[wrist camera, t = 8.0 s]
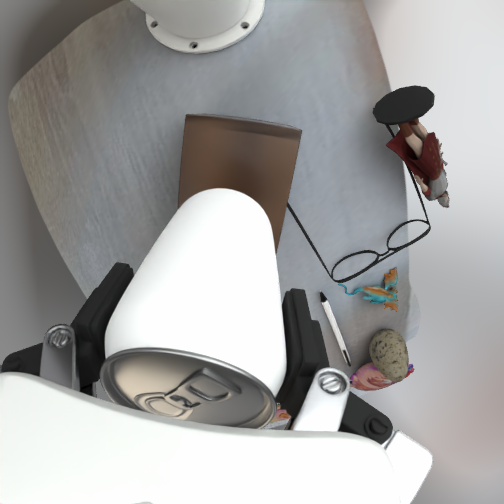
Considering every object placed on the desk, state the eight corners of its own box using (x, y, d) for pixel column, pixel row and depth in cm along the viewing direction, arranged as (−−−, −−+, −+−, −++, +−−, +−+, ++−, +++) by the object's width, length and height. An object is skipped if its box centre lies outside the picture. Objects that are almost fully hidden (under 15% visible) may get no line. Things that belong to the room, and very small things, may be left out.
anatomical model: (334, 370, 48) (390, 383, 48) (334, 396, 43) (393, 406, 44) (367, 341, 41) (424, 357, 42) (370, 369, 37) (429, 382, 38)
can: (154, 232, 18) (64, 380, 7) (222, 164, 15) (154, 292, 5) (222, 291, 20) (200, 451, 9) (292, 237, 18) (332, 410, 7)
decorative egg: (359, 346, 42) (375, 394, 33) (370, 321, 39) (391, 370, 30) (389, 344, 42) (407, 388, 33) (401, 319, 39) (424, 364, 30)
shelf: (192, 232, 32) (175, 268, 25) (204, 113, 26) (185, 114, 19) (267, 243, 33) (270, 282, 26) (289, 125, 26) (302, 130, 19)
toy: (286, 410, 49) (294, 418, 51) (286, 402, 51) (293, 411, 53) (234, 421, 52) (244, 429, 54) (234, 414, 53) (245, 422, 56)
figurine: (442, 84, 16) (474, 193, 24) (385, 87, 22) (429, 181, 30) (419, 124, 16) (455, 235, 24) (356, 122, 23) (408, 217, 31)
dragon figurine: (346, 324, 38) (398, 322, 34) (335, 307, 33) (397, 304, 29) (349, 285, 42) (398, 281, 37) (338, 262, 36) (395, 256, 32)
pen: (347, 364, 44) (348, 369, 43) (316, 290, 36) (318, 295, 35) (351, 362, 44) (353, 367, 43) (322, 287, 36) (324, 292, 35)
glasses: (327, 269, 34) (334, 289, 30) (265, 167, 30) (263, 172, 25) (418, 216, 30) (437, 228, 26) (369, 109, 26) (385, 104, 22)
